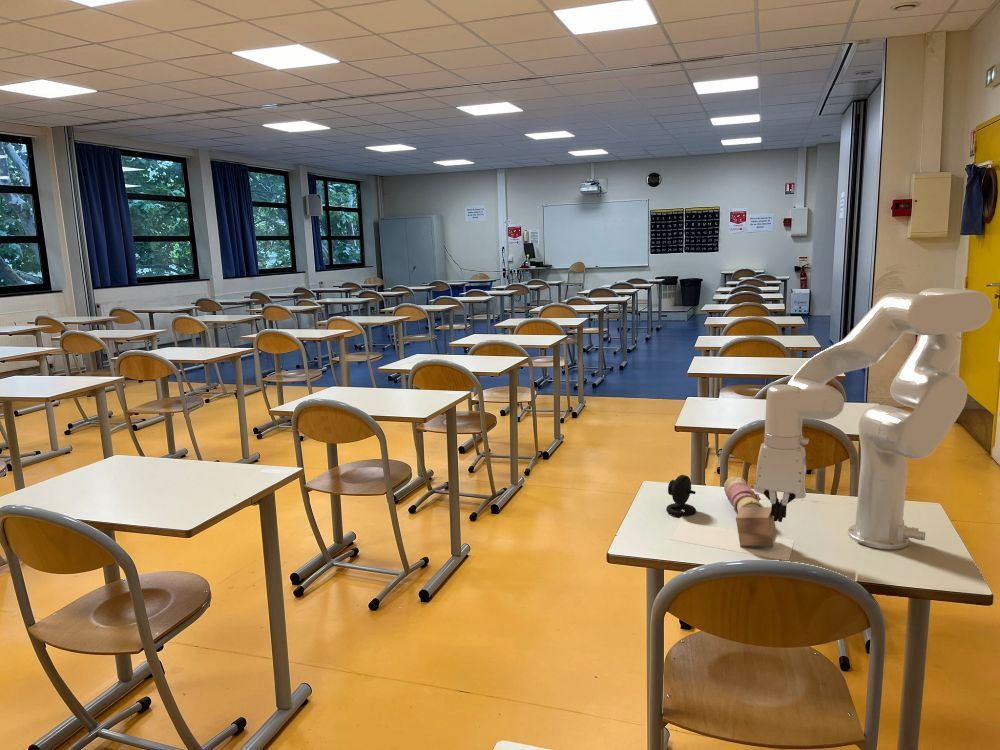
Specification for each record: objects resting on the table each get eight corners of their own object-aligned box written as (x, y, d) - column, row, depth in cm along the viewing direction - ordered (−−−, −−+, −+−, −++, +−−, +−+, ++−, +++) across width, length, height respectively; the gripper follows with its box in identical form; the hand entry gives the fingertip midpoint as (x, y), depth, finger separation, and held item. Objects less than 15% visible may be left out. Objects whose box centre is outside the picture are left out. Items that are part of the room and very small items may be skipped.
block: (776, 536, 163) (772, 507, 162) (772, 547, 157) (768, 517, 156) (745, 536, 166) (741, 507, 166) (740, 547, 160) (735, 517, 160)
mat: (794, 541, 164) (794, 540, 164) (788, 562, 153) (788, 560, 153) (682, 522, 176) (682, 521, 176) (669, 540, 165) (669, 539, 165)
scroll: (774, 523, 171) (757, 495, 190) (762, 496, 170) (746, 470, 190) (744, 534, 172) (730, 505, 192) (731, 508, 172) (719, 481, 191)
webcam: (674, 504, 188) (675, 468, 186) (701, 511, 183) (702, 474, 181) (660, 513, 182) (661, 476, 180) (687, 520, 177) (688, 482, 176)
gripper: (820, 440, 155) (815, 519, 159) (749, 433, 162) (746, 508, 165) (818, 449, 149) (813, 531, 152) (744, 441, 156) (740, 520, 159)
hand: (778, 519), depth 159 cm, fingers closed
